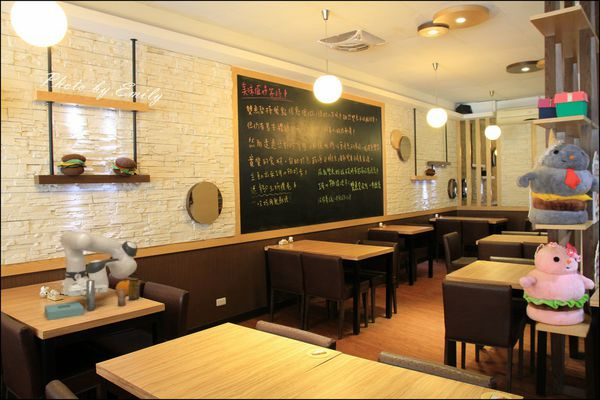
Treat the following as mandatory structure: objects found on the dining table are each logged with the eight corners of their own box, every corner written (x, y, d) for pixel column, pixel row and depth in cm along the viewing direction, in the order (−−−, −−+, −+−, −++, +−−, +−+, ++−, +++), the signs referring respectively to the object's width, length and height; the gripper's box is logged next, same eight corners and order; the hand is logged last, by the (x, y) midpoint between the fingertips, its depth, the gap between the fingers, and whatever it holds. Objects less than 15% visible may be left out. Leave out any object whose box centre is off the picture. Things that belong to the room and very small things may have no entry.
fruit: (111, 296, 271) (111, 280, 271) (124, 291, 282) (124, 276, 282) (127, 297, 268) (126, 281, 267) (139, 293, 279) (139, 277, 278)
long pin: (86, 309, 240) (85, 280, 239) (94, 308, 242) (93, 279, 242) (87, 311, 236) (87, 281, 236) (95, 310, 239) (95, 280, 238)
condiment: (137, 296, 269) (137, 277, 269) (142, 299, 262) (142, 279, 262) (125, 298, 264) (125, 278, 264) (130, 301, 258) (130, 281, 258)
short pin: (117, 305, 249) (116, 289, 249) (124, 304, 251) (124, 288, 251) (118, 306, 246) (118, 290, 246) (126, 305, 248) (126, 289, 248)
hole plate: (44, 313, 233) (44, 305, 233) (78, 308, 243) (77, 301, 243) (48, 320, 220) (48, 312, 220) (83, 314, 230) (83, 307, 230)
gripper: (105, 291, 256) (111, 295, 245) (66, 296, 244) (70, 301, 232) (105, 280, 256) (111, 284, 244) (65, 285, 244) (70, 289, 232)
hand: (90, 292), depth 238 cm, fingers closed on long pin, 4 cm apart
